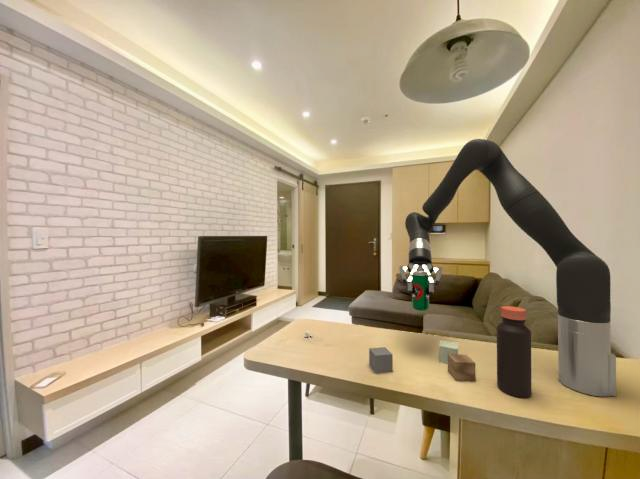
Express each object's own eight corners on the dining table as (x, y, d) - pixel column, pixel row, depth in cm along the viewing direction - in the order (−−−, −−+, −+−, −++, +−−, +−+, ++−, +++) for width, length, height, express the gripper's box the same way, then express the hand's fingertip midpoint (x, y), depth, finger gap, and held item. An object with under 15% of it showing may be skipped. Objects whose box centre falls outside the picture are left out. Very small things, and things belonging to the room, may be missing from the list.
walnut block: (466, 372, 72) (466, 354, 72) (475, 382, 67) (475, 362, 67) (447, 371, 72) (447, 353, 73) (455, 381, 68) (455, 362, 68)
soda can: (430, 311, 80) (430, 272, 80) (413, 310, 81) (413, 272, 81) (427, 307, 85) (426, 270, 85) (411, 306, 86) (410, 270, 86)
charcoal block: (385, 363, 77) (385, 347, 77) (392, 372, 72) (392, 354, 72) (369, 365, 76) (369, 348, 76) (375, 373, 71) (375, 355, 71)
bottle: (538, 394, 61) (537, 310, 62) (520, 401, 59) (520, 313, 59) (507, 380, 68) (507, 304, 68) (490, 386, 65) (490, 306, 65)
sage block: (458, 359, 80) (458, 343, 80) (457, 366, 75) (457, 349, 76) (440, 355, 82) (440, 340, 82) (439, 362, 78) (439, 345, 78)
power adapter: (309, 336, 100) (308, 328, 100) (313, 338, 98) (313, 330, 98) (303, 339, 98) (303, 330, 98) (308, 340, 96) (308, 332, 96)
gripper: (398, 246, 92) (396, 285, 81) (442, 246, 87) (446, 288, 76) (399, 260, 97) (397, 299, 86) (441, 261, 92) (445, 302, 81)
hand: (420, 293), depth 81 cm, fingers closed on soda can, 5 cm apart
